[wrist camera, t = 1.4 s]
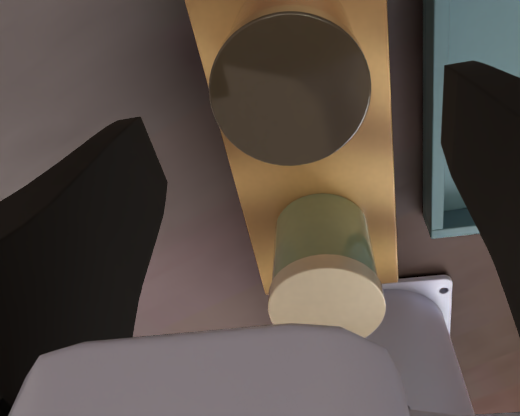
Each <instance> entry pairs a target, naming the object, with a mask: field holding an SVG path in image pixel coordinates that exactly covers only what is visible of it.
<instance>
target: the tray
mask: <svg viewBox="0 0 520 416" xmlns="http://www.w3.org/2000/svg"><path fill="white" fill-rule="evenodd" d="M472 60H474V61H478V62H481V63H484V64H487V65H490V66H492V67H495V68H497V69H500V70H502V71H505V72H507V73H509V74H512V75H514V76H517V77H519V78H520V0H423V217H424V220H425V223H426V226H427V228H428V231H429V234H430V237H431V239H434V238H444V237H453V236H462V235H472V234H480V233H479V231H478V229H477V227H476V225H475V223H474V221H473V219H472V217H471V215H470V213H469V211H468V209H467V207H466V205H465V203H464V201H463V199H462V197H461V195H460V193H459V191H458V189H457V187H456V185H455V183H454V181H453V179H452V177H451V174H450V171H449V168H448V165H447V162H446V159H445V156H444V153H443V149H442V146H441V124H442V103H443V82H444V65H448V64H454V63H460V62H466V61H472Z"/></svg>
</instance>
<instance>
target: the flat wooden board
mask: <svg viewBox="0 0 520 416" xmlns="http://www.w3.org/2000/svg"><path fill="white" fill-rule="evenodd" d="M339 1H340V2H341V4H342V5H343V7H344V9H345V11H346V13H347V15H348V18H349V21H350V24H351V27H352V30H353V33H354V36H355V38H356V39H357V41H358V42H359V44H360V46H361V48H362V50H363V53H364V55H365V58H366V61H367V64H368V67H369V71H370V77H371V98H370V104H369V108H368V111H367V114H366V116H365V118H364V121H363V123H362V124H361V126H360V128H359V129H358V131H357V132H356V133H355V135H354V136H353V137H352V138H351V139H350V140H349V141H348V142H347V143H346V144H345V145H344V146H343V147H342V148H340V149H339V150H338V151H336V152H335V153H333V154H331V155H330V156H328V157H326V158H324V159H321V160H319V161H316V162H313V163H309V164H304V165H296V166H281V165H274V164H270V163H266V162H262V161H260V160H257V159H255V158H253V157H251V156H249V155H247V154H245V153H244V152H242V151H241V150H240V149H238V148H237V147H236V146H235V145H234V144H232V143H231V142H230V141H229V139H228V138H227V137H226V136H225V135H224V133H223V132H222V130H221V129H220V131H221V134H222V138H223V142H224V145H225V149H226V153H227V156H228V160H229V164H230V167H231V171H232V174H233V178H234V182H235V185H236V189H237V193H238V196H239V200H240V204H241V207H242V211H243V214H244V218H245V222H246V225H247V229H248V233H249V236H250V240H251V243H252V247H253V251H254V254H255V258H256V262H257V265H258V269H259V273H260V276H261V280H262V283H263V287H264V291H265V294H269V288H270V285H271V282H272V271H273V255H274V239H275V226H276V222H277V219H278V217H279V215H280V213H281V212H282V211H283V210H284V209H285V208H286V207H287V206H288V205H289V204H290V203H292V202H293V201H295V200H297V199H299V198H301V197H304V196H307V195H311V194H319V193H328V194H335V195H338V196H342V197H344V198H347V199H348V200H350V201H352V202H353V203H355V204H356V205H357V206H358V207H359V208H360V209H361V210H362V212H363V213H364V215H365V217H366V219H367V222H368V228H369V233H370V238H371V243H372V248H373V253H374V259H375V264H376V269H377V274H378V278H379V279H380V281H381V284H386V283H397V282H398V281H399V279H398V255H397V231H396V207H395V183H394V159H393V135H392V112H391V88H390V64H389V40H388V16H387V0H339ZM244 2H245V0H185V4H186V7H187V11H188V15H189V18H190V22H191V25H192V29H193V33H194V36H195V40H196V44H197V47H198V51H199V55H200V58H201V62H202V65H203V69H204V73H205V76H206V80H207V84H208V87H209V78H210V73H211V69H212V66H213V63H214V60H215V58H216V55H217V53H218V51H219V49H220V47H221V45H222V43H223V41H224V40H225V39H226V37H227V36H228V34H229V33H230V30H231V28H232V25H233V23H234V20H235V18H236V15H237V13H238V11H239V9H240V8H241V6H242V5H243V3H244Z"/></svg>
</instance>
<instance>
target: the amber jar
mask: <svg viewBox="0 0 520 416" xmlns="http://www.w3.org/2000/svg"><path fill="white" fill-rule="evenodd" d="M370 98H371V77H370V71H369V67H368V64H367V61H366V58H365V55H364V53H363V50H362V48H361V46H360V44H359V42H358V41H357V39H356V38H355V36H354V33H353V30H352V27H351V24H350V21H349V18H348V15H347V13H346V11H345V9H344V7H343V5H342V4H341V2H340V1H339V0H245V2H244V3H243V5H242V6H241V8H240V9H239V11H238V13H237V15H236V18H235V20H234V23H233V25H232V28H231V30H230V33H229V34H228V36H227V37H226V39H225V40H224V41H223V43H222V45H221V47H220V49H219V51H218V53H217V55H216V58H215V60H214V63H213V66H212V69H211V73H210V78H209V100H210V105H211V109H212V112H213V115H214V118H215V120H216V122H217V124H218V126H219V127H220V129H221V130H222V132H223V133H224V135H225V136H226V137H227V138H228V139H229V141H230V142H231V143H232V144H234V145H235V146H236V147H237V148H238V149H240V150H241V151H242V152H244V153H245V154H247V155H249V156H251V157H253V158H255V159H257V160H260V161H262V162H266V163H270V164H274V165H281V166H296V165H304V164H309V163H313V162H316V161H319V160H321V159H324V158H326V157H328V156H330V155H331V154H333V153H335V152H336V151H338V150H339V149H340V148H342V147H343V146H344V145H345V144H346V143H347V142H348V141H349V140H350V139H351V138H352V137H353V136H354V135H355V133H356V132H357V131H358V129H359V128H360V126H361V124H362V123H363V121H364V118H365V116H366V114H367V111H368V108H369V104H370Z"/></svg>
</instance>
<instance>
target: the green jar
mask: <svg viewBox="0 0 520 416" xmlns="http://www.w3.org/2000/svg"><path fill="white" fill-rule="evenodd" d="M385 311H386V302H385V296H384V291H383V286H382V284H381V281H380V279H379V278H378V274H377V269H376V264H375V259H374V253H373V248H372V243H371V238H370V233H369V228H368V222H367V219H366V217H365V215H364V213H363V212H362V210H361V209H360V208H359V207H358V206H357V205H356V204H355V203H353V202H352V201H350V200H348V199H347V198H344V197H342V196H338V195H335V194H328V193H319V194H311V195H307V196H304V197H301V198H299V199H297V200H295V201H293V202H292V203H290V204H289V205H288V206H287V207H286V208H285V209H284V210H283V211H282V212H281V213H280V215H279V217H278V219H277V222H276V226H275V239H274V255H273V271H272V282H271V285H270V288H269V295H268V313H269V317H270V319H271V321H272V323H273V325H276V324H287V323H299V324H313V325H327V326H340V327H342V328H344V329H347V330H349V331H351V332H353V333H355V334H357V335H360V336H362V337H364V338H366V337H367V336H369V335H370V334H371V333H372V332H374V331H375V330H376V329H377V328H378V326H379V325H380V324H381V322H382V320H383V318H384V316H385Z"/></svg>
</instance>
